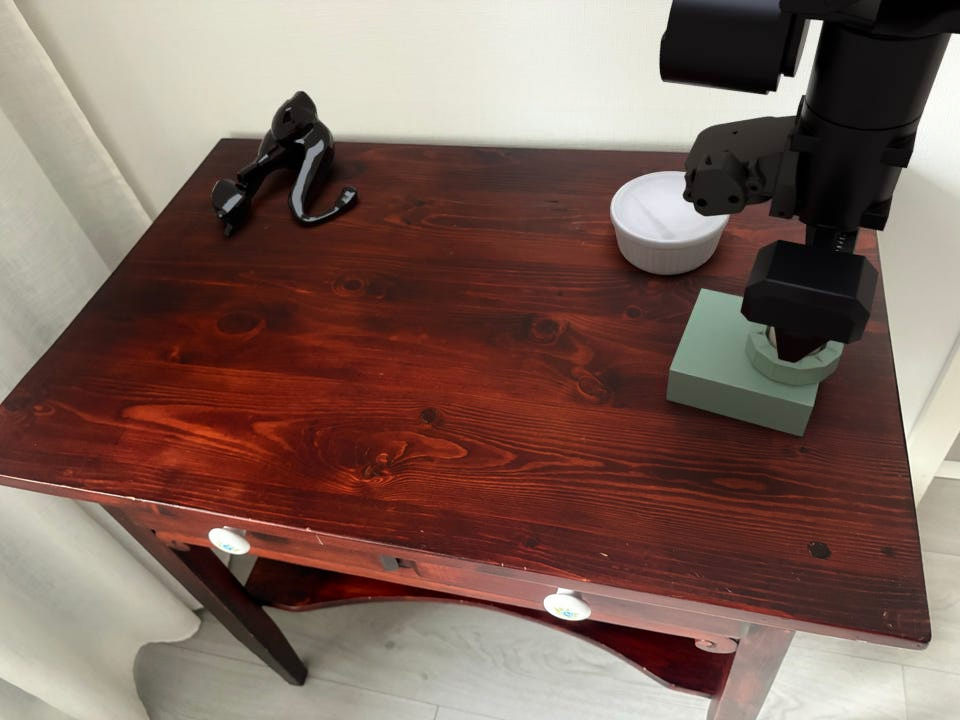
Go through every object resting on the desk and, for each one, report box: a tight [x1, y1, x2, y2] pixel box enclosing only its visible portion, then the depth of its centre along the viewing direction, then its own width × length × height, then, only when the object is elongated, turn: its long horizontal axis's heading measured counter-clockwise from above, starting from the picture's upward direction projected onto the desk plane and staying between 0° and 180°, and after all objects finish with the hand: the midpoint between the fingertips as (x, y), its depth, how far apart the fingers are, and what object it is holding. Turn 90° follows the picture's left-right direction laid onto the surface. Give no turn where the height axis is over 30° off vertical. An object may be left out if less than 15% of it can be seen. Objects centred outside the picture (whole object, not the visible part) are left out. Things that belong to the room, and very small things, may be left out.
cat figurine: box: [210, 90, 359, 238], centre depth 87 cm, size 10×14×18 cm
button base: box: [665, 287, 845, 438], centre depth 62 cm, size 12×10×6 cm
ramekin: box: [609, 170, 731, 276], centre depth 74 cm, size 11×11×5 cm
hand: (800, 311), depth 51 cm, fingers open, 9 cm apart
